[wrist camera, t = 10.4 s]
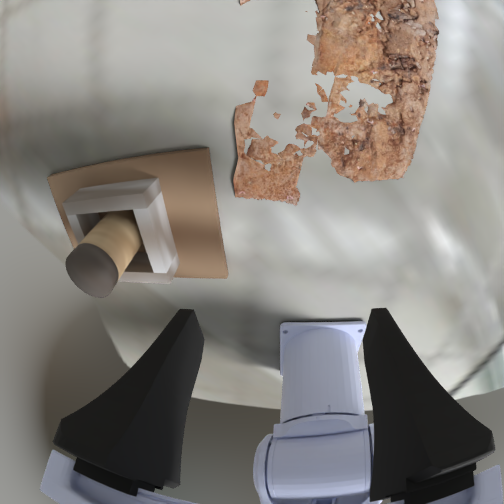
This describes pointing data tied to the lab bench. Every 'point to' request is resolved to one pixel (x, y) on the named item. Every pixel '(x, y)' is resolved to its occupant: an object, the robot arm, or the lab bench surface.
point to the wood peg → (105, 253)
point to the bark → (331, 129)
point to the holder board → (151, 211)
